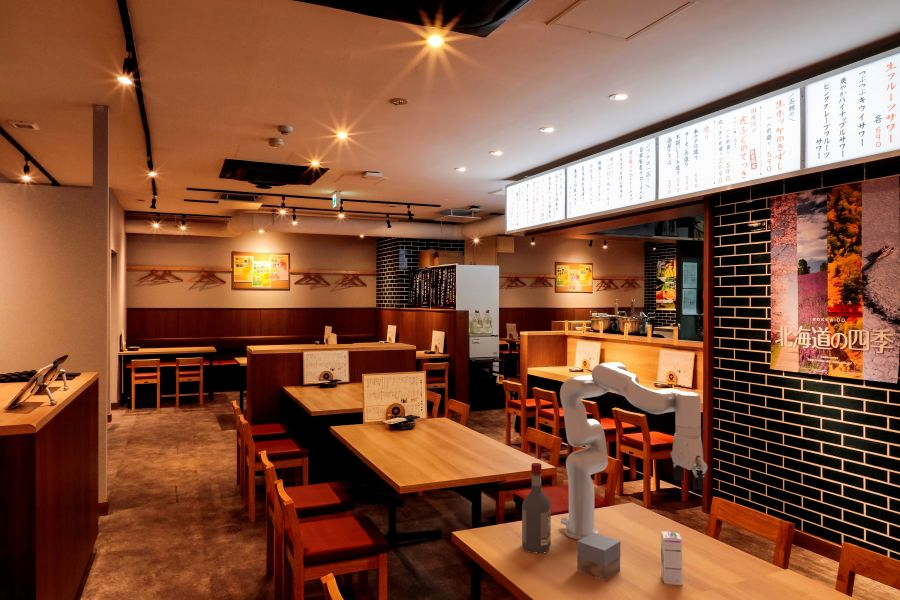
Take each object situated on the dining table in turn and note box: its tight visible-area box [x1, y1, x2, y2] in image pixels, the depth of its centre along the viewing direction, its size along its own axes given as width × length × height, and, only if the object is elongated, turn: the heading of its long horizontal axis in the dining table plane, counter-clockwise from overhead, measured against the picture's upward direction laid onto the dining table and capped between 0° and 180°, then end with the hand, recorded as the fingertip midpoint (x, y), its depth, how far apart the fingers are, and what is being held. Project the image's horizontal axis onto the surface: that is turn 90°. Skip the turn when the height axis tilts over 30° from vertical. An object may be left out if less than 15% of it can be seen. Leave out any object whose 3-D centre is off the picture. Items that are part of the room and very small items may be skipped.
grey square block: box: [576, 533, 621, 566], centre depth 190 cm, size 10×10×5 cm
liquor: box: [521, 462, 552, 554], centre depth 208 cm, size 9×9×30 cm
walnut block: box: [576, 555, 621, 582], centre depth 190 cm, size 10×10×5 cm
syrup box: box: [660, 530, 684, 586], centre depth 184 cm, size 6×6×14 cm
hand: (688, 484), depth 186 cm, fingers open, 9 cm apart
